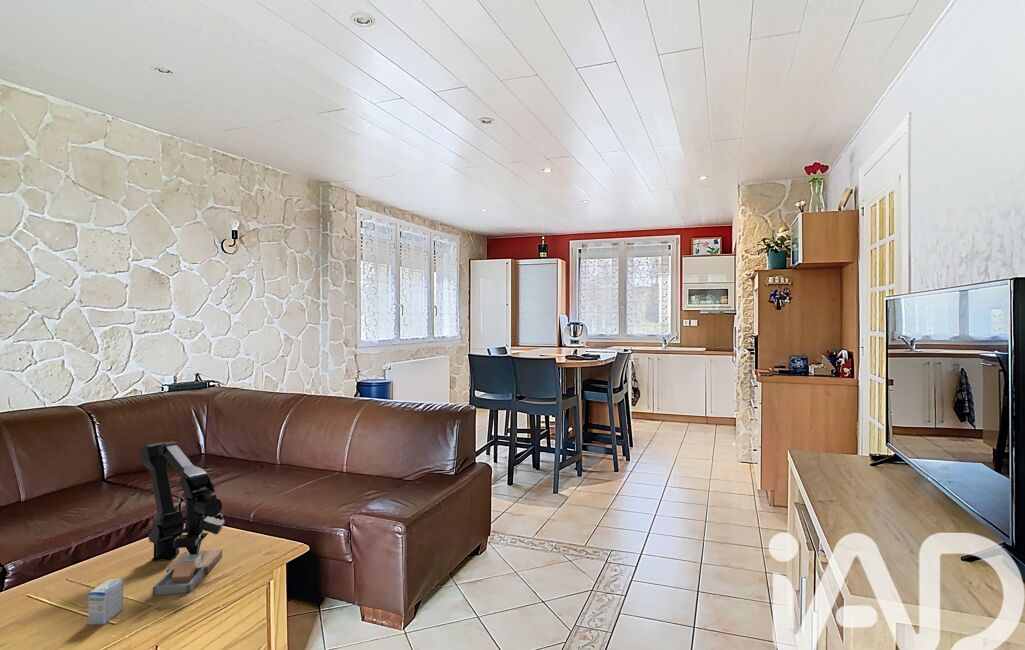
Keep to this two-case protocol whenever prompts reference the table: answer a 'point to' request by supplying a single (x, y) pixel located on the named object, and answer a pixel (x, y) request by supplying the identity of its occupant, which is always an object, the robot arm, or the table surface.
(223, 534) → the table surface
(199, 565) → the walnut board
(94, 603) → the medicine box
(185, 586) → the tray
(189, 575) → the tile terracotta
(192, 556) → the white block
